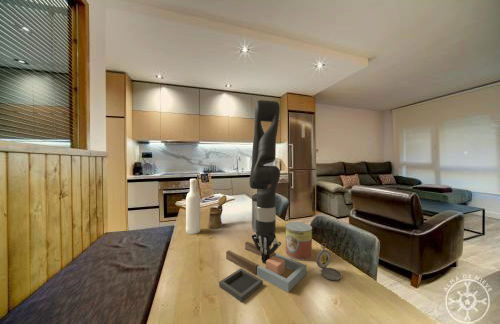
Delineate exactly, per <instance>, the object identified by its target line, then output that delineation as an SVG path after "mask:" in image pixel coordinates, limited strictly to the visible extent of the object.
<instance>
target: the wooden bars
mask: <svg viewBox="0 0 500 324" xmlns="http://www.w3.org/2000/svg"><path fill="white" fill-rule="evenodd" d="M244 243H245V244H244V249H245V251H246V250H247V251H249V252H251V253H253V254H256V255H258V256H260V257H261V255H262V253H261V251H260V250H257V247H256V245H255V243H254V242H253V243H252V242H250V241H246V242H244ZM225 253H226V254H225V259H226V260H227V261H230V262H231V263H234V265H236V266H238V267H241V269H243V270H245V271H247V272H249V273H250V274H252V275H254V276H257V267H258V266H259V264H258V263H256V262H253V261H251V260H250V259H247V258H245V257H243V256H241V255H240V254H237V253H235V252H233V251H231V250H230V249H229V250H227V251H225ZM276 254H277V252H276V251H275V252H274V253H272V254H271V255H270V258H271V257H273V256H275V255H276Z"/></svg>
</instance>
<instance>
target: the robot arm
mask: <svg viewBox="0 0 500 324" xmlns="http://www.w3.org/2000/svg"><path fill="white" fill-rule="evenodd" d="M280 108H281V107H280V103H279V102H278V101H276V100H265V99H263V100H261V99H259V100H257V101H256V102H255V108H254V128H253V129H254V131H253V132H254V133H253V141H252V152H251V155H252V156H251V168H250V175H249V187H250V189H252V190H253V189H254V190H258V191H257V193H254V194H253V195H252V196H251V231H252V232H255V233H254V234H252V235H251V239H252V240H253V244H255V245H256V247H257V250H260V251H261V253H262V255H261V256H260V257H261V259H260V260H261V261H262V264H264V265H266V261H267V260H268V259H270V255H271V254H272V253H274V252H275V253H276V251H277V250H278V249H279V247H281V245H282V243H281V241H278V240H277V235H276V230H277V229H276V227H277V225H276V216H277V215H276V213H277V211H276V192H277V188H278V184H279V181H280V179H281V170H280V168H279V167H278V166H276V165H267V164H271V163H273V162H275V161H276V156H277V155H276V154H277V153H276V152H277V150H276V149H277V148H276V147H277V146H276V145H277V135H278V130H279V129H278V128H279V121H280V111H281V109H280ZM262 122H268V123H269V122H270V126H269V127H268V128H267V130H266V131H264V128H263V125H262ZM269 185H270V186H269Z"/></svg>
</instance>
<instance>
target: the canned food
mask: <svg viewBox="0 0 500 324" xmlns="http://www.w3.org/2000/svg"><path fill="white" fill-rule="evenodd" d="M312 245H313V227H312V225H310V224H308V223H305V222H299V221H290V222H288V223H286V224H285V250H284V251H285V255H286V257H288V258H290V259H292V260H295V261H307V260H310V259H312V256H313V250H312V249H313V246H312Z"/></svg>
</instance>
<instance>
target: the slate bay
mask: <svg viewBox="0 0 500 324" xmlns="http://www.w3.org/2000/svg"><path fill="white" fill-rule="evenodd" d="M275 256H276V257H278V258H280V259H283V260H285V268H287V269H289V270H291V271H293V272H292V273H291V274H290V275H289V276H288V277H287V278H286V277H284V276H283V275H278V274H276V273H274V272H272V271H270V270H268V269H266V267H264V266H262V265H259V264H258V265H259V266H258V267H257V275H256V277H258V278H259V279H261V280H264V281H266V282H267V283H269V284H272V285H274V286H275V287H277V288H278V289H281V290H282V291H285V292H286V293H289V292H290V291H291V290H292V289H294V287H295V286H296V285H297V284H298V283H299V282H300V281H301V280H302V279H303V278H304V277H305V276H306V275H307V268H308V267H307V265H306V264H304V263H302V262H299V261H298V260H296V259H293V258H290V257H288V256H284V255H282V254H280V253H276V255H275Z"/></svg>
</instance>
